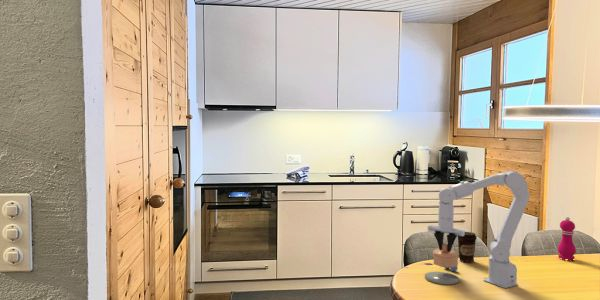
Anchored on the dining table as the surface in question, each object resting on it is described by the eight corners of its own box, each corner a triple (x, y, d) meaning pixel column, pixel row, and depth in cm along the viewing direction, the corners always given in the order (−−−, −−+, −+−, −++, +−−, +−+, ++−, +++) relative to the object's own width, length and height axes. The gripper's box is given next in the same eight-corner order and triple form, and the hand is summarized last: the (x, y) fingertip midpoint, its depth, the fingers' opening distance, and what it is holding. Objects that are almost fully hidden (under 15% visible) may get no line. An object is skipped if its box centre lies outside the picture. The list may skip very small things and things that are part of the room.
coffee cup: (479, 264, 179) (480, 235, 178) (461, 264, 179) (461, 235, 179) (471, 258, 187) (472, 231, 187) (454, 258, 188) (454, 230, 187)
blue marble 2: (459, 271, 168) (459, 264, 168) (454, 272, 167) (454, 265, 167) (453, 269, 171) (453, 262, 171) (448, 270, 170) (448, 263, 169)
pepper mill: (575, 258, 188) (576, 216, 188) (576, 262, 182) (577, 219, 182) (557, 256, 192) (558, 214, 192) (557, 259, 186) (558, 217, 186)
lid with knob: (463, 264, 162) (463, 245, 161) (446, 269, 157) (446, 249, 156) (444, 257, 170) (444, 239, 169) (428, 262, 165) (428, 243, 165)
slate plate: (466, 281, 157) (466, 279, 157) (443, 287, 151) (443, 285, 151) (440, 271, 168) (440, 269, 168) (417, 276, 162) (417, 274, 162)
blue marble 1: (452, 269, 172) (452, 262, 171) (447, 270, 170) (447, 263, 170) (446, 267, 174) (446, 260, 174) (441, 268, 173) (441, 261, 173)
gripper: (467, 218, 161) (466, 252, 161) (432, 213, 170) (432, 245, 171) (461, 221, 155) (460, 255, 156) (425, 216, 165) (425, 248, 165)
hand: (445, 250), depth 163 cm, fingers closed on lid with knob, 3 cm apart
